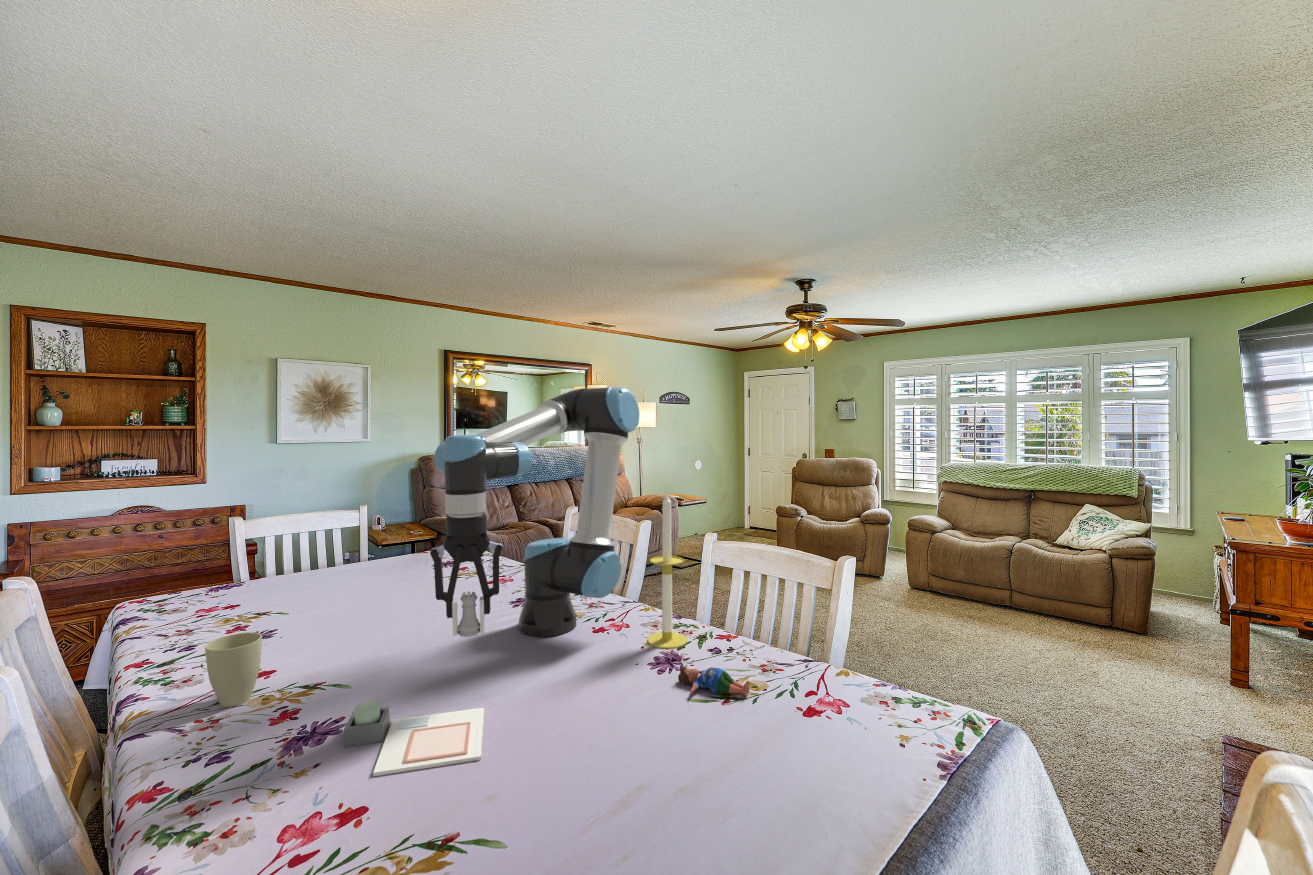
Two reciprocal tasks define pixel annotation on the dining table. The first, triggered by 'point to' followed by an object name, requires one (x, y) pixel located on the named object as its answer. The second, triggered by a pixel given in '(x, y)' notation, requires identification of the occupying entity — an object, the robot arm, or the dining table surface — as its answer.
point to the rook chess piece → (469, 616)
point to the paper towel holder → (667, 587)
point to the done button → (367, 713)
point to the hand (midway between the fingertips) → (469, 631)
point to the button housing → (366, 730)
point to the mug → (234, 666)
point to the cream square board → (431, 741)
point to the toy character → (712, 681)
